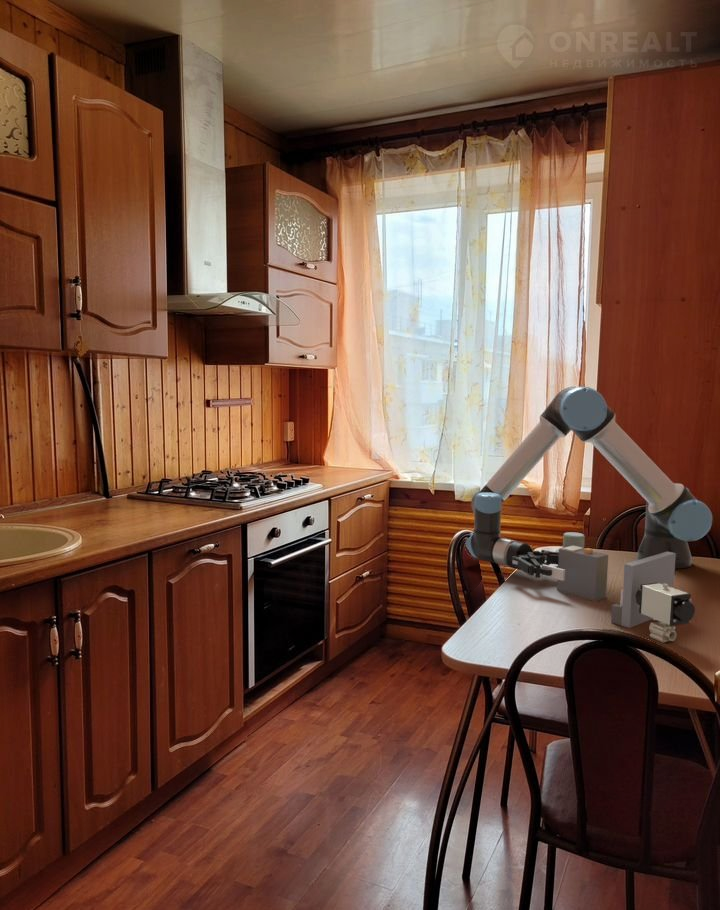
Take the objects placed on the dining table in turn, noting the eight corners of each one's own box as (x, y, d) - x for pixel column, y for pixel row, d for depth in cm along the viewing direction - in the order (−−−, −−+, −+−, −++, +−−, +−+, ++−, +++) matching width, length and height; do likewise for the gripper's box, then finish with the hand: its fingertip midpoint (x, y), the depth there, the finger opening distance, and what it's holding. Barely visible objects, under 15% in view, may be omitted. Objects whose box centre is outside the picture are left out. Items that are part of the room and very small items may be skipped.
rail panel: (653, 606, 169) (657, 549, 168) (672, 610, 166) (675, 553, 164) (611, 622, 157) (614, 561, 156) (629, 628, 154) (633, 565, 152)
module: (568, 587, 184) (570, 542, 183) (606, 597, 176) (608, 550, 175) (557, 590, 181) (559, 545, 180) (594, 601, 173) (597, 553, 171)
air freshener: (562, 572, 198) (564, 538, 197) (548, 565, 206) (550, 531, 205) (597, 570, 201) (598, 536, 200) (581, 563, 209) (583, 530, 208)
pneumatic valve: (676, 651, 141) (680, 593, 140) (632, 631, 152) (635, 577, 150) (696, 647, 143) (700, 590, 142) (651, 628, 154) (654, 575, 153)
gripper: (540, 560, 203) (606, 577, 186) (483, 574, 187) (549, 594, 171) (541, 535, 202) (607, 549, 186) (484, 547, 186) (550, 564, 170)
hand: (580, 570), depth 178 cm, fingers open, 13 cm apart
